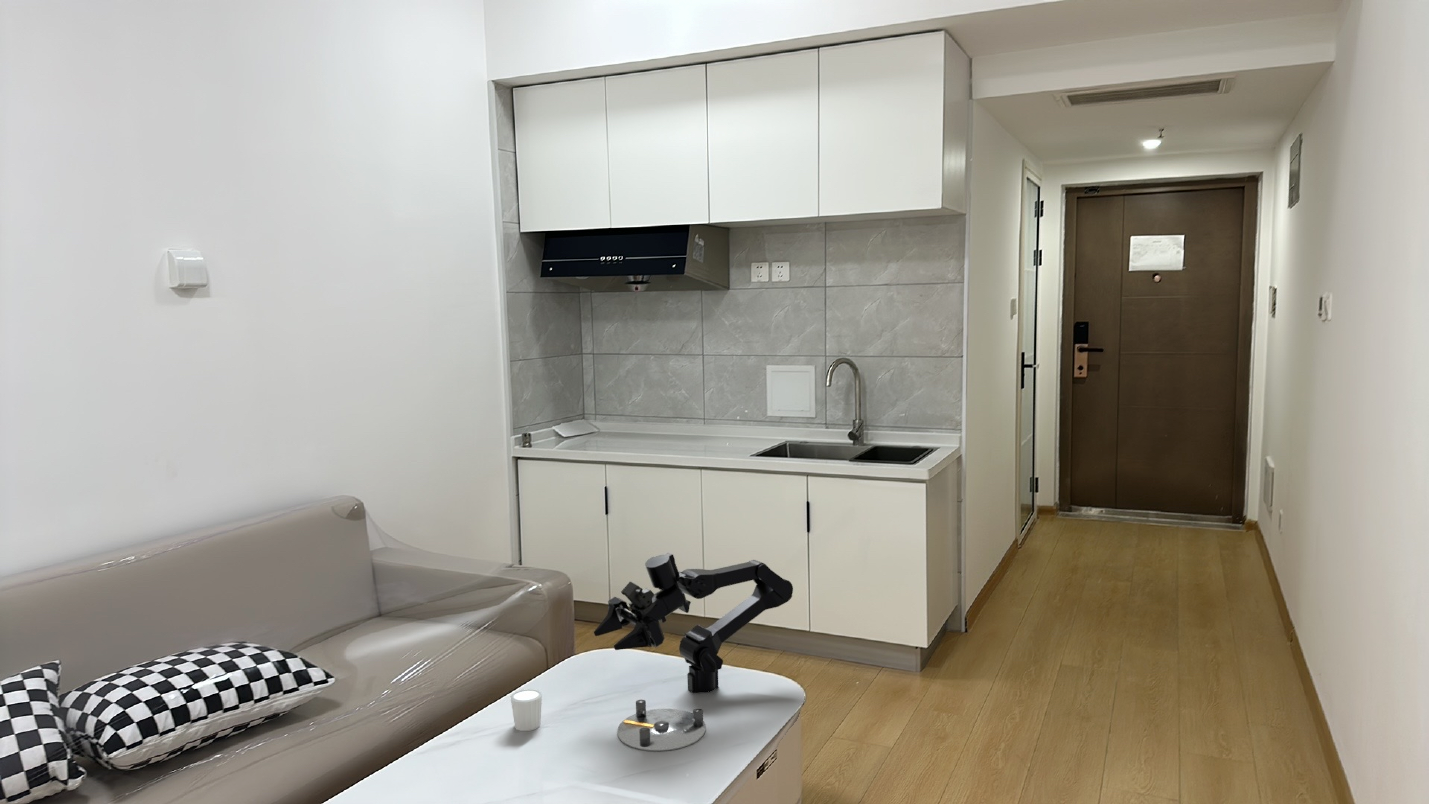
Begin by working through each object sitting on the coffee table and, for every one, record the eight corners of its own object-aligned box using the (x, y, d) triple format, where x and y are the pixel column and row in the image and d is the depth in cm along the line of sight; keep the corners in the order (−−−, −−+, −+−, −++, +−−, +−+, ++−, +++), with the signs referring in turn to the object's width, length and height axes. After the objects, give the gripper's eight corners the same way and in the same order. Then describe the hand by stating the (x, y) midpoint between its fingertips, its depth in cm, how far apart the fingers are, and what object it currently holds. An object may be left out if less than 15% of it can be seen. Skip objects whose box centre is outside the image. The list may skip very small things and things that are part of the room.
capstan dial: (718, 718, 208) (718, 702, 208) (684, 757, 191) (683, 740, 190) (641, 705, 215) (641, 690, 215) (601, 742, 198) (600, 726, 197)
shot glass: (516, 735, 204) (515, 704, 203) (508, 722, 210) (506, 692, 209) (547, 727, 207) (545, 697, 206) (538, 715, 213) (536, 686, 212)
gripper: (629, 564, 220) (573, 598, 213) (672, 587, 205) (613, 624, 198) (643, 603, 224) (588, 638, 217) (686, 629, 209) (629, 667, 201)
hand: (604, 641), depth 208 cm, fingers open, 9 cm apart
